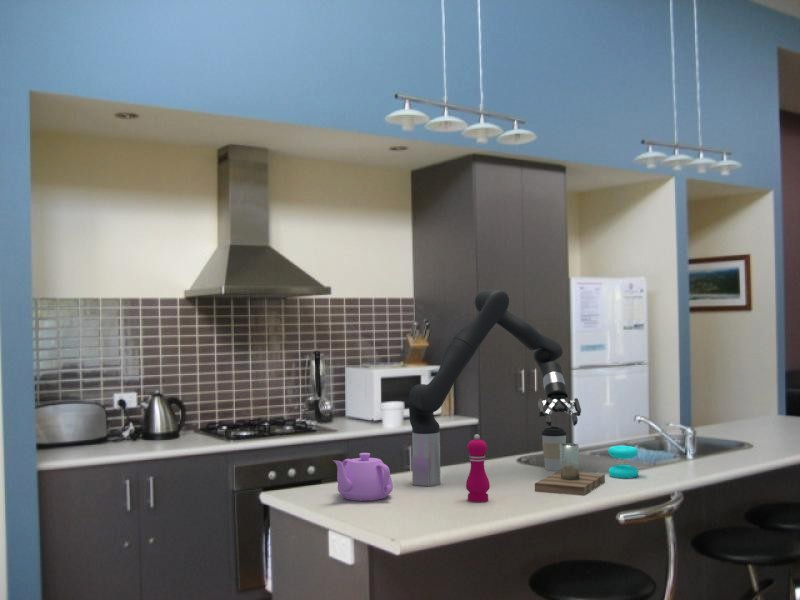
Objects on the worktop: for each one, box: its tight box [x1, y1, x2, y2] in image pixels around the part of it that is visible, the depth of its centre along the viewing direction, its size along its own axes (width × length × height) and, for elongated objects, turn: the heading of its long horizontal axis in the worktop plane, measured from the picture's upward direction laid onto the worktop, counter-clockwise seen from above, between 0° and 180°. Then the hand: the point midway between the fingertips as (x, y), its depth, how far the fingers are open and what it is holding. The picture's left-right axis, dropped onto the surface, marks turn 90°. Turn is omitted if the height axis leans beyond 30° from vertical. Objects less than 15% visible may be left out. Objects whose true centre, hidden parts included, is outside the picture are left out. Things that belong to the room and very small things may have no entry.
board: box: [534, 470, 606, 496], centre depth 280 cm, size 24×16×2 cm, turn 152°
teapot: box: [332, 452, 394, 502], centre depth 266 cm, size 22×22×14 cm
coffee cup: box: [541, 426, 568, 472], centre depth 313 cm, size 9×9×15 cm
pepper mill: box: [465, 433, 491, 503], centre depth 262 cm, size 7×7×20 cm
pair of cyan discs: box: [607, 445, 639, 479], centre depth 297 cm, size 10×10×10 cm
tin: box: [560, 442, 580, 480], centre depth 281 cm, size 6×6×11 cm
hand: (562, 424), depth 292 cm, fingers open, 8 cm apart
